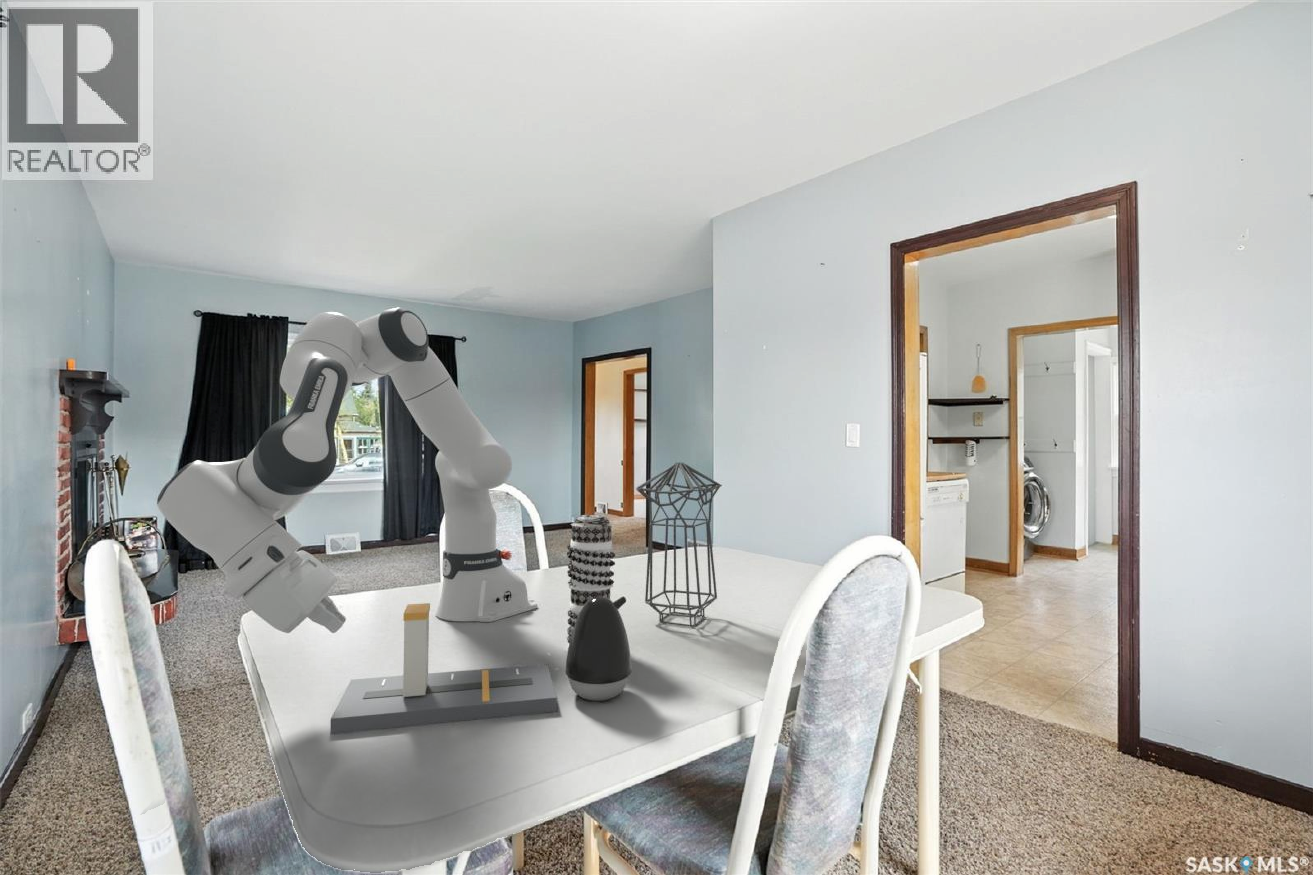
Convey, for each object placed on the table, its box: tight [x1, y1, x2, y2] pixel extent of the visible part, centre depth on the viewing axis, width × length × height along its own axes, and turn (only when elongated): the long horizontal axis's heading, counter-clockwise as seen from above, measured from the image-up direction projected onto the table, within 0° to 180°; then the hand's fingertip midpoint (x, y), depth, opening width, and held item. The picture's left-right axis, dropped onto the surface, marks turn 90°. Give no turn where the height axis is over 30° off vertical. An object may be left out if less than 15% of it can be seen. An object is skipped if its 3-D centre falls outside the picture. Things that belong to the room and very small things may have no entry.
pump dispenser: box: [565, 596, 632, 702], centre depth 99 cm, size 10×10×15 cm
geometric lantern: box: [635, 461, 723, 628], centre depth 140 cm, size 16×16×35 cm
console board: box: [329, 663, 558, 735], centre depth 95 cm, size 30×14×2 cm, turn 106°
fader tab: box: [402, 602, 431, 697], centre depth 94 cm, size 3×5×12 cm, turn 16°
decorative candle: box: [566, 514, 616, 648], centre depth 121 cm, size 9×9×25 cm
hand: (340, 626), depth 91 cm, fingers closed
